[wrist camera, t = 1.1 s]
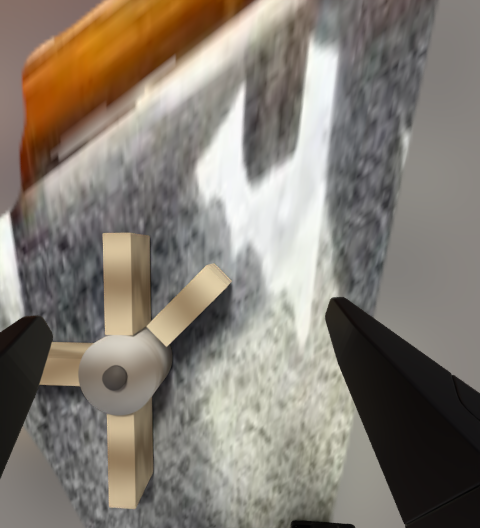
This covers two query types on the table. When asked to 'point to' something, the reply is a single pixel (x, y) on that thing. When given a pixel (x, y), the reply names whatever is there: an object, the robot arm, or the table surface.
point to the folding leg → (188, 304)
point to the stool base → (120, 366)
